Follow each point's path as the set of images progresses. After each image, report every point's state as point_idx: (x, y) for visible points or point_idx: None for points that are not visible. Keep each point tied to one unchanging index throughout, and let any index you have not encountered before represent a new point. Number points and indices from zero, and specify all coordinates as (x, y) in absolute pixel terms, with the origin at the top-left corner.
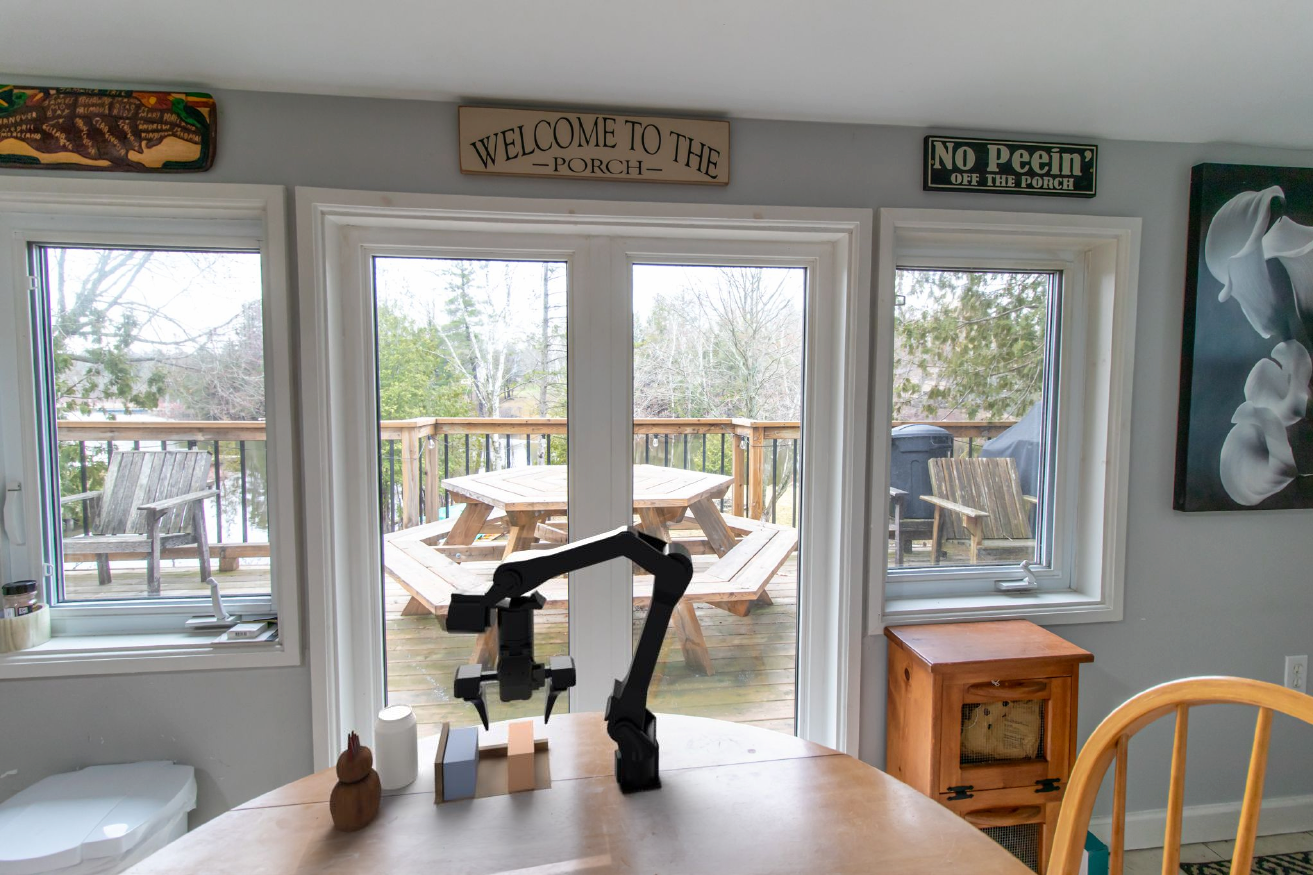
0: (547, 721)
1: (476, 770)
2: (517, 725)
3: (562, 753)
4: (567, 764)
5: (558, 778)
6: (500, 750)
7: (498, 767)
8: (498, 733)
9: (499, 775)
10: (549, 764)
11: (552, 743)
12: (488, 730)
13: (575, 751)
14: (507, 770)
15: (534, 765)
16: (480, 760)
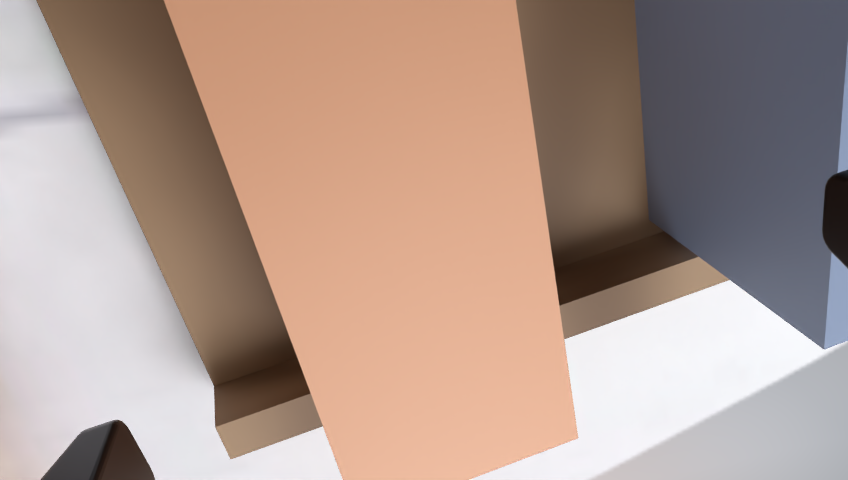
0: (64, 454)
1: (680, 24)
2: (491, 424)
3: (116, 394)
4: (29, 294)
5: (38, 134)
6: None
7: None
8: (567, 476)
9: None
10: (146, 238)
11: (224, 467)
12: (831, 176)
13: (24, 428)
14: None
15: None
16: (638, 219)
